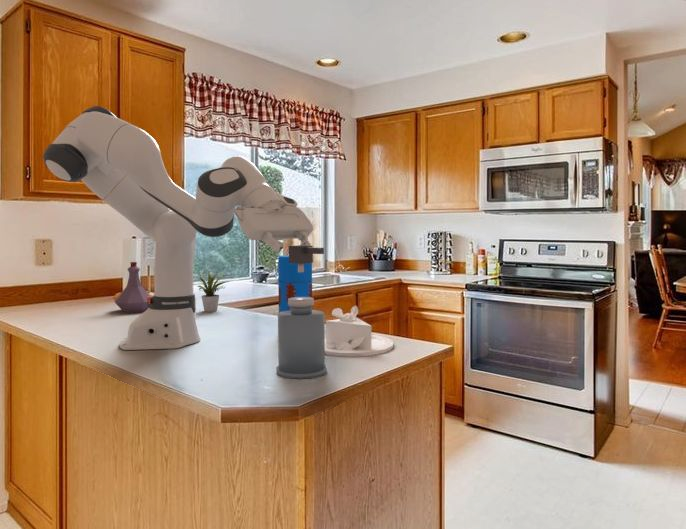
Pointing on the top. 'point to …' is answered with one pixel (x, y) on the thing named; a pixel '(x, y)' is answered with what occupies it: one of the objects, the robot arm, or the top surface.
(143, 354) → the top surface
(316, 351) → the dispenser
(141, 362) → the top surface
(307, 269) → the thermos
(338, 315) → the dish
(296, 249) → the pump head
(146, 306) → the flask
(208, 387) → the top surface
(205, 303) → the house plant
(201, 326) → the top surface
